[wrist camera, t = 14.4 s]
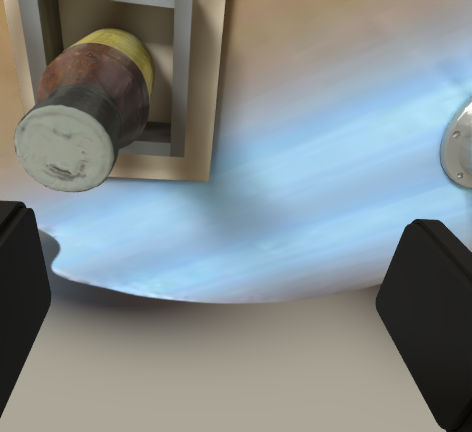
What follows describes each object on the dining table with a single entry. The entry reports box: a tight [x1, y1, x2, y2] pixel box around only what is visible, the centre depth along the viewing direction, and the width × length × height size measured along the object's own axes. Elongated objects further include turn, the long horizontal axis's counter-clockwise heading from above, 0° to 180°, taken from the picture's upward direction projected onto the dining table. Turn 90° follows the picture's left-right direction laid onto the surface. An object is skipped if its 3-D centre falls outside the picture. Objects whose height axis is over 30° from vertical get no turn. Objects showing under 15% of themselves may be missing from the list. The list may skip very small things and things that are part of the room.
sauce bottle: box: [14, 28, 155, 192], centre depth 24 cm, size 7×6×20 cm
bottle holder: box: [4, 0, 225, 182], centre depth 31 cm, size 17×22×6 cm
